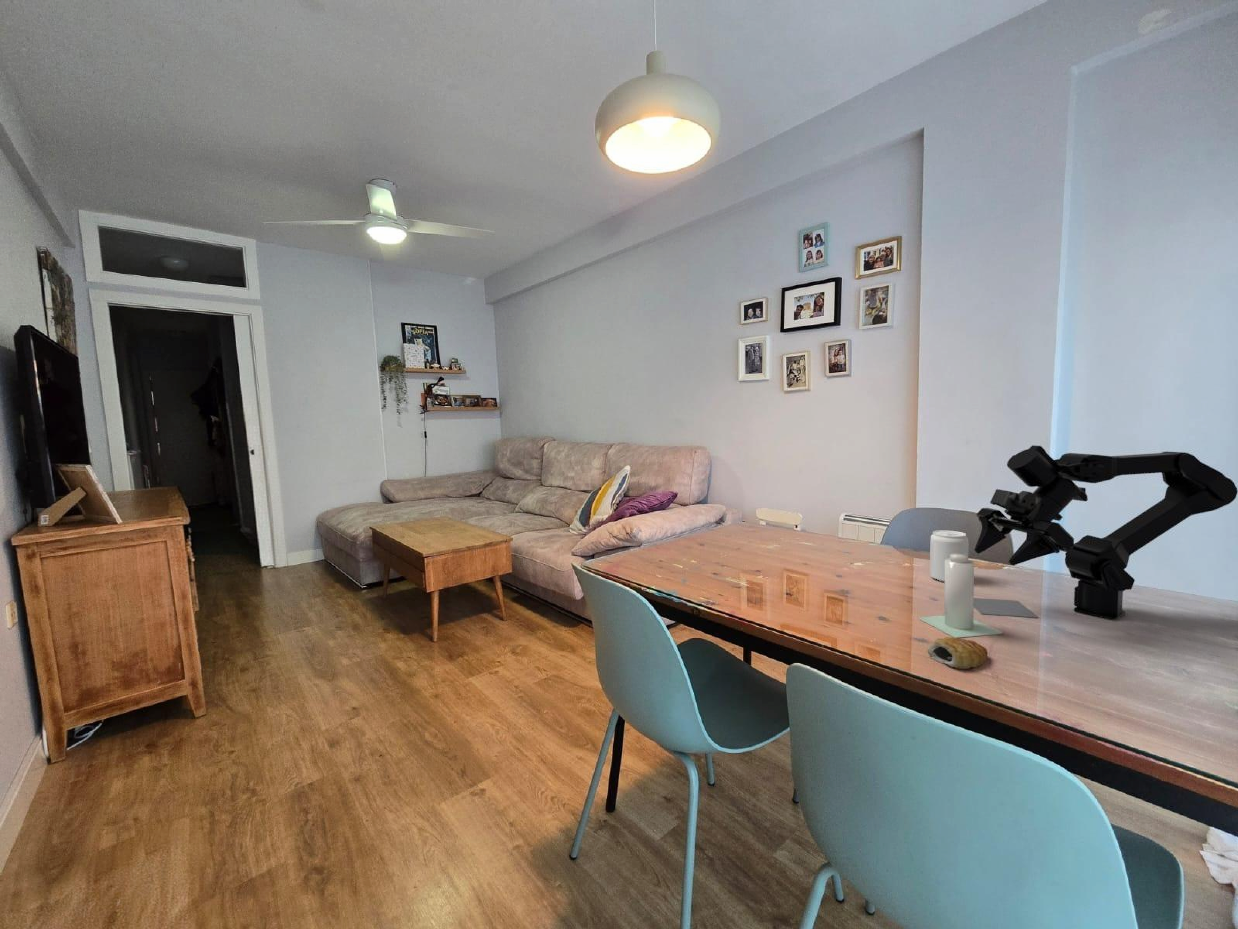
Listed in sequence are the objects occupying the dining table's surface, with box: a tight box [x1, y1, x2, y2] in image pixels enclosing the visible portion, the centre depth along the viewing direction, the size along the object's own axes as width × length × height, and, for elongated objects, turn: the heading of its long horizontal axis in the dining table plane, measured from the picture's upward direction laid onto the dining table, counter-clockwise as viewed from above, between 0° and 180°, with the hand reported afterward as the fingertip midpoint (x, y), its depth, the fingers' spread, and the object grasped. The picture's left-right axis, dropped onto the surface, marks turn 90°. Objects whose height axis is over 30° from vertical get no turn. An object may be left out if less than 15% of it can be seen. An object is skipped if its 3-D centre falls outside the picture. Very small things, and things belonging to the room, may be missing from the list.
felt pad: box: [974, 597, 1040, 619], centre depth 110 cm, size 10×10×1 cm
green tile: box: [917, 614, 1004, 639], centre depth 102 cm, size 10×10×1 cm
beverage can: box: [929, 529, 969, 583], centre depth 130 cm, size 8×8×12 cm
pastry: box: [926, 636, 989, 670], centre depth 88 cm, size 9×7×4 cm
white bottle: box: [944, 553, 975, 630], centre depth 101 cm, size 5×5×14 cm
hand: (992, 557), depth 104 cm, fingers open, 9 cm apart
